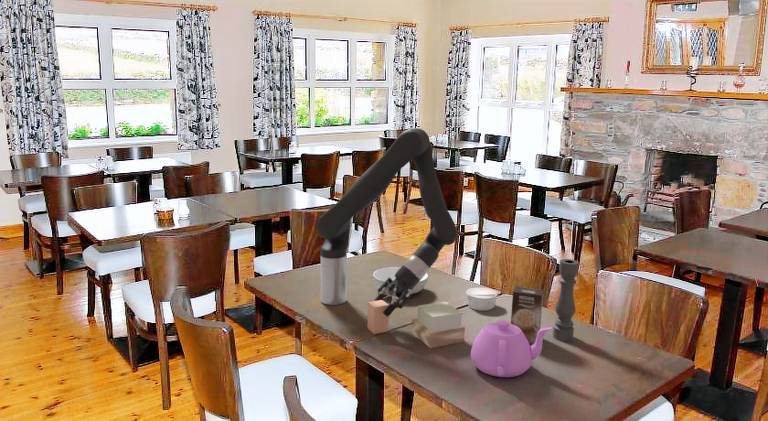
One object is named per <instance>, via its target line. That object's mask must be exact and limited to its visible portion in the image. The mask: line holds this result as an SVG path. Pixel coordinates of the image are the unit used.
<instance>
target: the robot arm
mask: <svg viewBox="0 0 768 421" xmlns="http://www.w3.org/2000/svg"><path fill="white" fill-rule="evenodd" d="M411 161H413V163H414V165H415V168H416V172H417V176H418V177H417V178H418V187H419V194H420V199H421V202H422V205H423V208H424V210H425V213H426V216H427V217H428V219H430V220H431V223H432V226H433V227H432V228H431V229H430V231H429V232H428V234H427V236H426V237H425V238H424V240H423V241H422V243H421V245H420V246H418V248H417V249H416V250H415V252H413V254H411V256H410V257H409V258H407V259H406V261H404V263H403V264H402V266H400V267H401V268H400V269H399V270H398V271H397V272H396V274H395V277H396V279H395V280H394V281H393V280H392V279H391V278H388V279H387V280H386V281H385V282H384V283H383V284H382V286H381V287H380V288H377V292H378V295H377V296H376V297H375V299H374V300H373V301H378V300H383V301H385V299H386V298H388V297H389V298H390V297H391V298H392V299H391V303H389V304H388V307H387V308H386V309H385V310H384V311H383V313H384V314H385V315H386V316H387V317H388V318H389V317H390V316H391V314H392V313H393V312H394V311H395V309H400V310H401V309H402V308H403V307H404V306H405V305H406V303H407V302H408V301H409V299H410V298H412V295H413V294H411V293H410V292H409V291H408V289H410V290H412V289H413V288H414V287H415V286H416V285H417V284H418V282H419V281H420V280H421V279H422V278H423V276H424V275H425V274H426V273H427V272H428V271H429V269H430V268H431V267H432V266H433V265H434V263H436V261H437V260H438V258H439V256H440V254H439V253H440V252H441V250H442V249H443V248H444V247H445V246H449V245H452V244H454V243H455V242H456V240H457V239H458V229H457V226H456V224H455V222H454V220H453V217H452V215H451V213H450V212H449V210H448V208H447V204H446V201H445V198H444V195H443V192H442V190H441V189H442V188H441V186H440V183H439V179H438V176H437V172H436V168H435V164H434V163H435V162H434V158H433V153H432V147H431V140H430V136H429V134H428V133H427V132H426V131H425V130H424V129H423V128H420V127H417V128H415V127H414V128H409V129H406V130H404V131H402V132H401V133H399V134H398V136H397V138H396V139H395V140H394V141H393V143H392V144H391V145H390V147H389V148H388V149H387V150H386V151H385V153H384V154H383V155H382V156H380V158H379V159H377V160H376V161H375V162H374V163H373V164H371V165H370V167H368V169H366V171H364V173H362V175H360V177H359V178H357V179H356V181H355V182H354V183H353V184H352V185H351V186H350V187H349V189H348V190H346V192H345V193H344V194H343V196H341V198H340V199H339V200H338V201H337V202H336V203H335V204H334V205H333V206H331V207H330V208H329V209H328V210H326V211H325V212H324V213H323V214H321V215H320V216H319V217H318V219H317V221H316V232H317V234H318V235H319V236H320V237H321V238H323V239H324V242H323V244H322V245H321V247H320V302H321V303H322V304H324V305H329V306H337V305H338V306H339V305H341V304H344V303H346V302H347V251H348V248H349V244H350V243H349V242H350V221H351V219H352V218H353V217H354V216H356V215H357V214H359V213H360V212H361V211H363V210H364V209H366V208H367V207H369V206H370V205H371V204H373V202H375V201H376V200H378V198H379V197H380V196H382V194H383V193H384V192H385V191H386V190H387V189H388V188H389V187H390V185H391V184H392V182H393V180H394V178H395V177H396V175H397V174H398V172H400V170H401V169H403V168H404V167H405V166H406V165H407V164H409V163H410V162H411ZM384 287H385V288H384ZM383 288H384V290H382V289H383Z"/></svg>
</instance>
